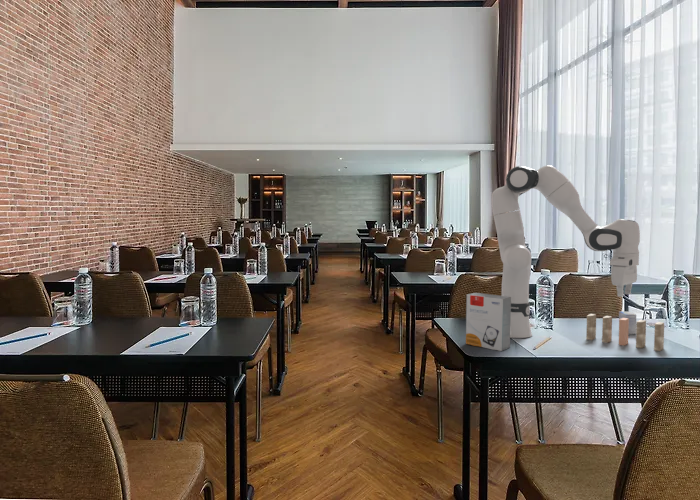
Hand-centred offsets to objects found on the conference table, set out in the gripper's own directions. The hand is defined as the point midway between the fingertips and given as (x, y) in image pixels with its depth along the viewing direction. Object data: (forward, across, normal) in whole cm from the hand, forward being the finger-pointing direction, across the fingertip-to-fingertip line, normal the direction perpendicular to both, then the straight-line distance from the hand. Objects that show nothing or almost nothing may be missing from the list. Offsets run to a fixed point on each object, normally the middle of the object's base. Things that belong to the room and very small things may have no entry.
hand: (624, 295), depth 185 cm
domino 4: (+19, 0, +6) cm, 20 cm away
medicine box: (+20, -24, -5) cm, 31 cm away
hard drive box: (+20, +41, -36) cm, 58 cm away
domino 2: (+19, 0, -6) cm, 20 cm away
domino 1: (+20, 0, -12) cm, 23 cm away
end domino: (+19, 0, +12) cm, 23 cm away
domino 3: (+19, 0, 0) cm, 19 cm away
